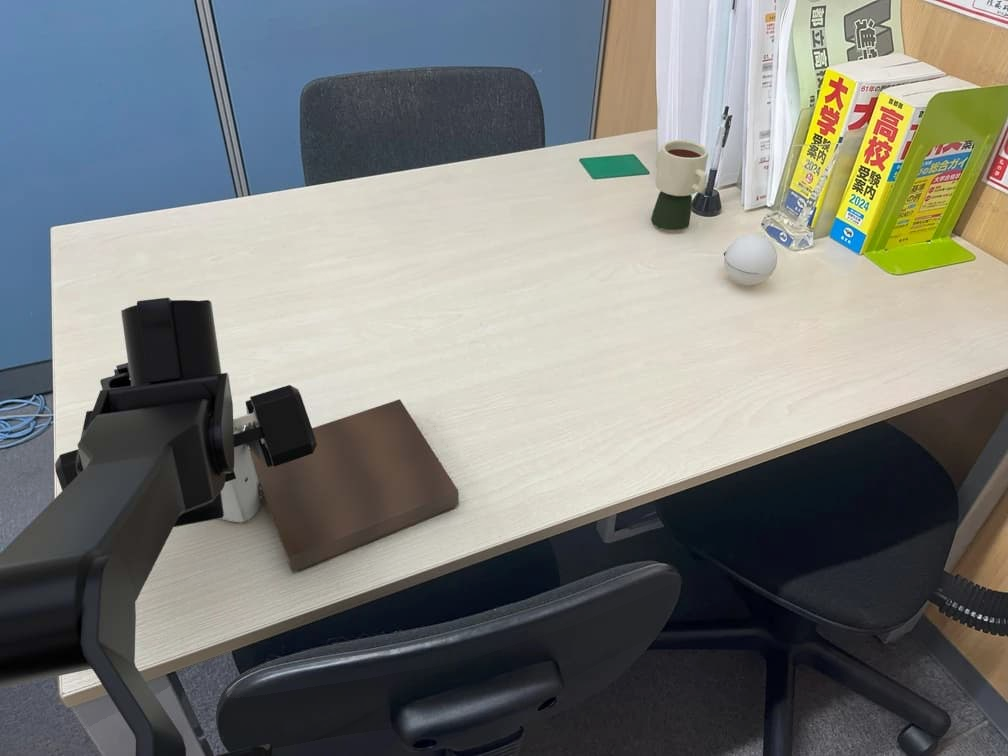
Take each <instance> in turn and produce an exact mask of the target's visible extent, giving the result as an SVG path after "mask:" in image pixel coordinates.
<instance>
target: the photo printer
mask: <svg viewBox="0 0 1008 756" xmlns="http://www.w3.org/2000/svg"><path fill="white" fill-rule="evenodd" d="M243 431H244V429H242V428H241V426H239V430H237V429H236V428H235V430H234V434H237V433H240V432H243ZM234 473H235V476H236V479H234V480H231V481H228V482H225V485H224V487H223V489H222V491H221V497H222V504H223V512H224V516H223V518H220V519H219V520H223V521H228V522H232V523H244V522H245V521H249V520H251V519H252V518H253V517H255V516H256V514H258V512H259V511H260V508H261V505H262V501H261V498H262V491H261V489H260V486H259V482H258V479H257V475H256V471H255V468H254V464H253V461H252V457H251V454H250V450H249V446H248V443H247V444H243V445H240V446H237V447H234Z"/></svg>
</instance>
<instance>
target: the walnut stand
mask: <svg viewBox="0 0 1008 756" xmlns="http://www.w3.org/2000/svg"><path fill="white" fill-rule="evenodd" d="M312 430H313V433H314V436H315V439H316V443H317V446H316V448H315V450H314V452H313V454H310V455H307V456H304V457H301V458H298V459H295V460H293V461H290V462H287V463H284V464H281V465H278V466H275V467H273V466H270V467H267V466H266V465H265V464H264V463H263V462H262V461H261V460H260V459H259V458H258V457H257V456H256V455H255V454H254V453H253V452H252V451H251V450H250V449H249V450H250V454H251V457H252V461H253V464H254V468H255V471H256V475H257V479H258V482H259V486H260V489H261V495H262V497H263V499H264V502H265V504H266V507H267V510H268V512H269V515H270V517H271V520H272V523H273V526H274V529H275V531H276V533H277V536H278V539H279V541H280V544H281V547H282V550H283V552H284V555H285V558H286V560H287V563H288V565H289V568H290V571H291V573H294V572H297V573H300V572H302V571H305V570H308V569H311V568H313V567H315V566H317V565H320V564H322V563H325V562H327V561H329V560H332V559H334V558H337V557H339V556H342V555H344V554H347V553H349V552H351V551H354V550H356V549H359V548H362V547H364V546H366V545H369V544H371V543H373V542H377V541H379V540H382V539H383V538H386V537H388V536H391V535H393V534H396V533H398V532H401V531H403V530H405V529H409V528H410V527H413V526H416V525H418V524H421V523H422V522H425V521H428V520H429V519H430V520H431V519H433V518H435V517H437V516H440V515H443V514H445V513H447V512H450V511H452V510H455V508H456V507H457V506H459V505H460V501H459V499H460V498H459V497H460V495H459V489H458V488H457V486H456V485H455V483H454V482H453V480H452V479H451V476H450V475H449V474H448V472H447V470H446V469H445V468H444V466H443V464H442V463H441V461H440V460H439V458H438V456H437V455H436V453H435V452H434V450H433V449H432V447H431V445H430V444H429V443H428V441H427V439H426V438H425V437H424V434H423V433H422V431H421V429H420V428H419V427H418V425H417V424H416V422H415V421H414V419H413V417H412V416H411V414H410V413H409V411H408V409H407V407H406V406H405V405H404V403H403V402H402V400H401V399H396V400H393V401H390V402H387V403H384V404H381V405H377V406H374V407H372V408H368V409H366V410H363V411H360V412H356V413H354V414H351V415H347V416H344V417H342V418H338V419H336V420H333V421H330V422H326V423H323V424H320V425H318V426H314V427H312Z"/></svg>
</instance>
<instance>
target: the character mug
mask: <svg viewBox="0 0 1008 756" xmlns="http://www.w3.org/2000/svg"><path fill="white" fill-rule="evenodd" d="M708 157H709V151H708V148H707V147H706V146H704V145H703V144H701V143H699V142H695V141H690V140H681V139H680V140H678V139H676V140H669V141H667V142H664V143H663V145H662V146H661V147H660V148H659V149H658V151H657V155H656V161H655V167H656V168H657V169H656V176H655V186H656V188H657V189H658V190H659V194H658V195H657V198H656V202H655V205H654V207H653V211H652V214H651V217H650V220H651V223H652V225H654V226H655V227H656V228H658V229H662V230H666V231H679V230H685V229H688V228H689V226H690V223H691V217H692V215H691V214H692V205H693V204H692V202H693V195H694V194H696V193H699V194H703V193H704V192H705V189H706V185H707V180H708V173H707V172H706V170H707V169H706V168H707V161H708Z"/></svg>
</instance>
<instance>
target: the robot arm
mask: <svg viewBox="0 0 1008 756" xmlns="http://www.w3.org/2000/svg"><path fill="white" fill-rule="evenodd" d="M121 320H122V329H123V335H124V342H125V343H124V344H125V350H126V359H127V362H125V363H121V364H118V365H115V367H116V369H113V373H114V375H111V376H107V377H104V378H101V379H100V380H99V382H100V386H101V388H102V389H100V391H99V392H98V395H97V398H96V402H95V404H94V406H93V408H92V410H87V411H86V412H85V417H84V421H83V422H84V423H83V426H82V429H81V430H82V431H81V434H80V439H79V441H78V443H77V449H74V450H71V451H68V452H64V453H61V454H59V456H58V457H57V460H55V461H56V462H55V464H54V467H55V468H54V470H55V473H56V477H57V479H58V483H59V485H60V488H61V492H59V494H58V495H57V496H56V497H55V498H54V499H53V500H52V501H51V502H49V504H48V505H47V506H46V507H45V508H44V509H43V510H42V511H41V512H40V513H39V514H38V515H37V516H36V517H35V518H34V519H33V520H32V521H31V522H30V523H29V524H28V525H27V526H26V527H25V528H24V529H23V530H22V531H21V532H20V533H19V534H18V535H17V536H16V537H15V538H14V539H13V540H12V541H11V542H10V543H9V544H8V545H7V546H6V547H5V548H4V549H3V550H1V552H0V689H5V688H9V687H14V686H19V685H24V684H27V683H32V682H37V681H42V680H46V679H50V678H55V677H61V676H65V675H69V674H74V673H78V672H79V673H80V672H83V671H88V670H92V671H93V672H94V674H95V676H96V677H97V679H98V681H99V682H100V684H101V685H102V686H103V688H104V690H105V691H106V693H107V694H108V696H109V697H110V699H111V701H112V703H113V704H114V706H115V707H116V708H117V710H118V712H119V713H120V715H121V717H122V718H123V720H124V721H125V723H126V725H127V726H128V727H129V729H130V731H131V732H132V735H133V736H134V738H135V756H187V747H186V744H185V741H184V737H183V735H182V734H181V732H180V731H179V729H178V728H177V726H176V725H175V723H174V722H173V720H172V719H171V717H170V716H169V714H168V712H167V711H166V709H165V708H164V707H163V705H162V704H161V703H160V701H159V699H158V698H157V696H156V695H155V693H154V692H153V689H152V688H151V687H150V686H149V683H148V682H147V681H146V680H145V678H144V676H143V675H142V673H141V672H140V671H139V668H138V667H137V666H136V662H135V660H136V628H137V627H136V623H137V613H136V612H137V611H136V609H137V608H136V602H137V600H138V598H139V596H140V594H141V592H142V590H143V588H144V587H145V584H146V582H147V580H148V578H149V577H150V574H151V573H152V570H153V568H154V567H155V564H156V562H157V561H158V558H159V556H160V554H161V553H162V551H163V548H164V546H165V544H166V542H168V541H167V540H168V539H169V537H170V534H171V533H172V531H173V529H174V528H178V527H182V526H187V525H193V524H198V523H204V522H209V521H214V520H221V519H220V518H223V516H224V512H223V504H222V497H221V491H222V489H223V487H224V485H225V482H228V481H231V480H234V479H236V476H235V473H234V447H237V446H240V445H243V444H247V443H248V447H249V449H250V450H251V451H252V452H253V453H254V454H255V455H256V456H257V457H258V458H259V459H260V460H261V461H262V462H263V463H264V464H265V465H266V466H267V467H270V466H273V467H275V466H278V465H281V464H284V463H287V462H290V461H293V460H295V459H298V458H301V457H304V456H307V455H310V454H313V452H314V450H315V448H316V446H317V443H316V439H315V436H314V433H313V430H312V428H313V427H312V424H311V421H310V417H309V415H308V412H307V409H306V406H305V403H304V400H303V397H302V395H301V393H300V391H299V389H298V388H296V387H295V386H293V385H291V384H288V385H285V386H281V387H278V388H275V389H271V390H267V391H265V392H262V393H258V394H255V395H251V396H250V397H249V400H245V409H246V414H245V415H242V416H239V417H235V418H234V404H233V397H232V388H231V384H230V382H231V381H230V375H229V373H228V372H222V367H221V360H220V352H219V346H218V340H217V339H218V338H217V333H216V326H215V319H214V312H213V305H212V301H211V300H208V299H205V300H203V299H202V300H191V299H190V300H189V299H175V300H174V299H171V298H169V297H160V298H153V299H144V300H137V302H136V304H135V305H131V306H128V307H125V308H123V309H122V310H121ZM239 426H241V428H242V429H243V432H240V433H237V434H234V430H235V428H236V429H237V430H239ZM216 756H276V755H275V754H273V744H272V743H271V742H270V743H265V744H262V745H258V746H257V745H254V746H250V747H245V748H241V749H237V750H233V751H230V752H226V753H221V754H218V755H216Z"/></svg>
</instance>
